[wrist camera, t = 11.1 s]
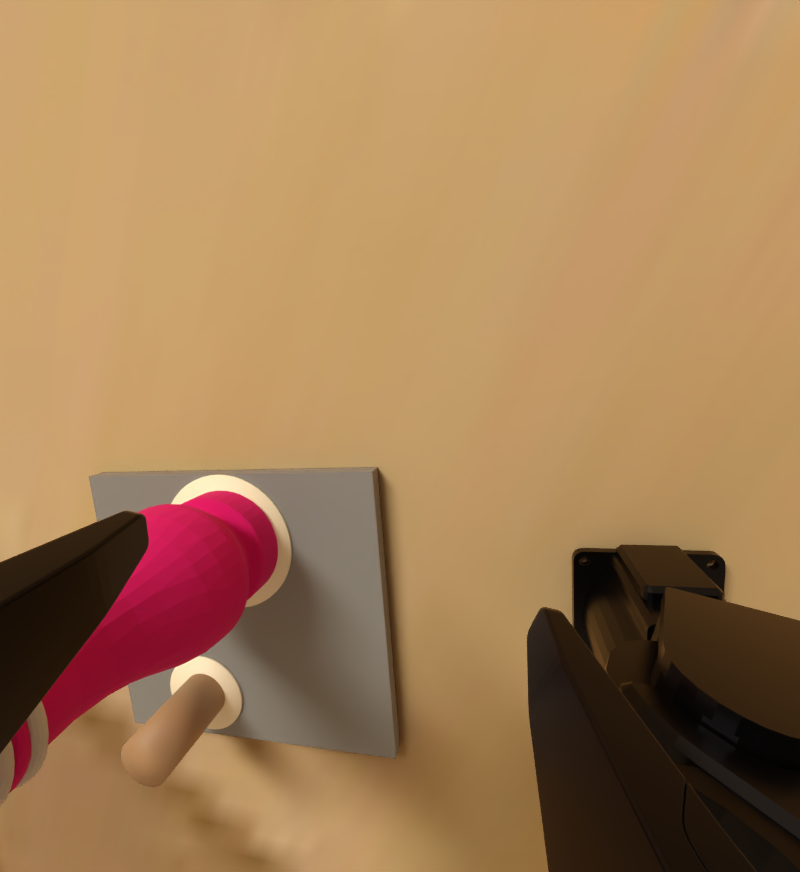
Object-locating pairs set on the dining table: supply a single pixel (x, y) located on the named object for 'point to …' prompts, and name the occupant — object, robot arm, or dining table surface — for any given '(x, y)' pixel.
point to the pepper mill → (157, 614)
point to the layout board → (278, 624)
